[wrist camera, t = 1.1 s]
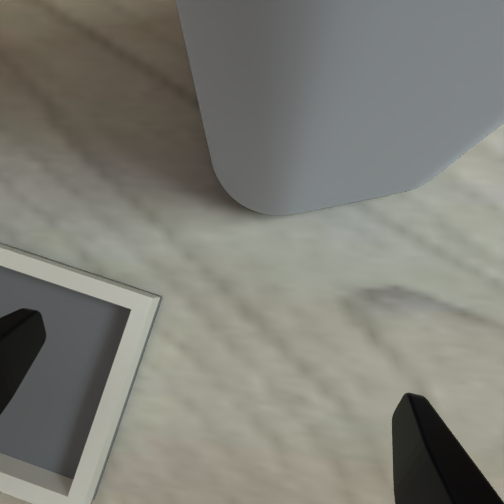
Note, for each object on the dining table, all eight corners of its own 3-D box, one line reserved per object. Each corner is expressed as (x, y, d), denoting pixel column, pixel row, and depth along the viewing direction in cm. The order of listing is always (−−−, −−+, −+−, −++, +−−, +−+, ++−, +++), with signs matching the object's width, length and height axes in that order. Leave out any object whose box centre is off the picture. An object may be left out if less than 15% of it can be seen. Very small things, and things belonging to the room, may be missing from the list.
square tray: (94, 499, 23) (78, 520, 21) (-97, 429, 24) (-131, 443, 22) (162, 296, 24) (153, 298, 22) (-25, 234, 24) (-51, 230, 22)
